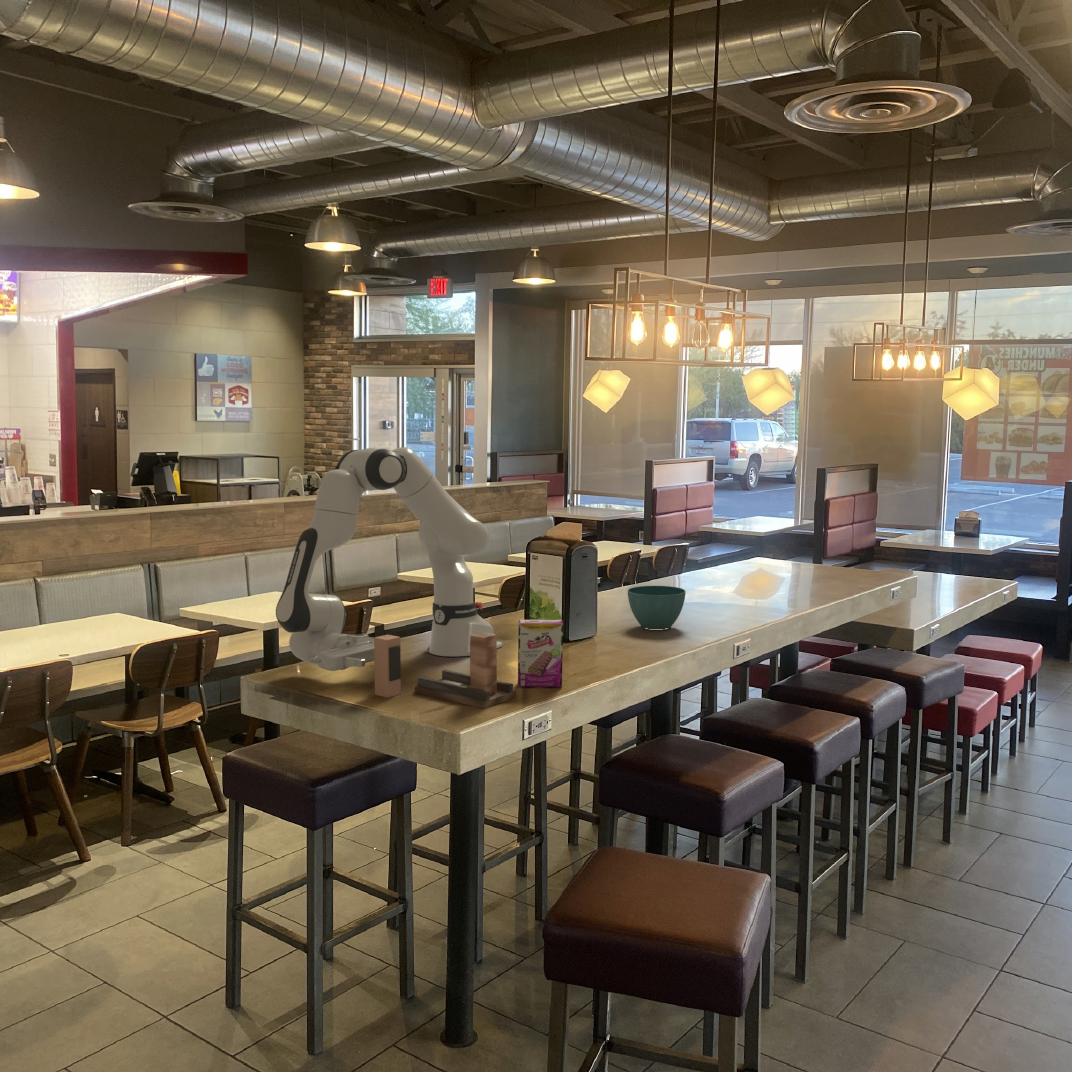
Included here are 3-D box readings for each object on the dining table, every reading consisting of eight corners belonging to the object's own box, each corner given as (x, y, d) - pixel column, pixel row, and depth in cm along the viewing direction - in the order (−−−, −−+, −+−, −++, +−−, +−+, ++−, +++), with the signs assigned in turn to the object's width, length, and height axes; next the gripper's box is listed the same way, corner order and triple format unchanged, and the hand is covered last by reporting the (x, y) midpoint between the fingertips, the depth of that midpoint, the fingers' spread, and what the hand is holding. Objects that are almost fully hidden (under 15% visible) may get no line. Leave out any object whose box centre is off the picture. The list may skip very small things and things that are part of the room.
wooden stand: (448, 682, 256) (447, 622, 254) (516, 697, 243) (515, 633, 241) (414, 692, 247) (413, 629, 245) (483, 708, 233) (482, 642, 231)
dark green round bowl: (666, 636, 310) (667, 597, 309) (616, 629, 321) (616, 590, 320) (695, 627, 325) (695, 589, 323) (645, 620, 336) (646, 583, 334)
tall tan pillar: (388, 690, 248) (387, 634, 247) (402, 694, 245) (402, 637, 244) (375, 694, 245) (374, 637, 243) (389, 698, 242) (388, 640, 240)
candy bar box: (517, 688, 251) (517, 623, 249) (517, 683, 256) (517, 619, 254) (563, 688, 251) (563, 622, 249) (562, 683, 256) (562, 618, 254)
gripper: (306, 646, 246) (344, 654, 238) (369, 632, 262) (407, 639, 254) (306, 672, 247) (344, 681, 239) (369, 656, 263) (407, 664, 255)
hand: (377, 659), depth 246 cm, fingers open, 8 cm apart
